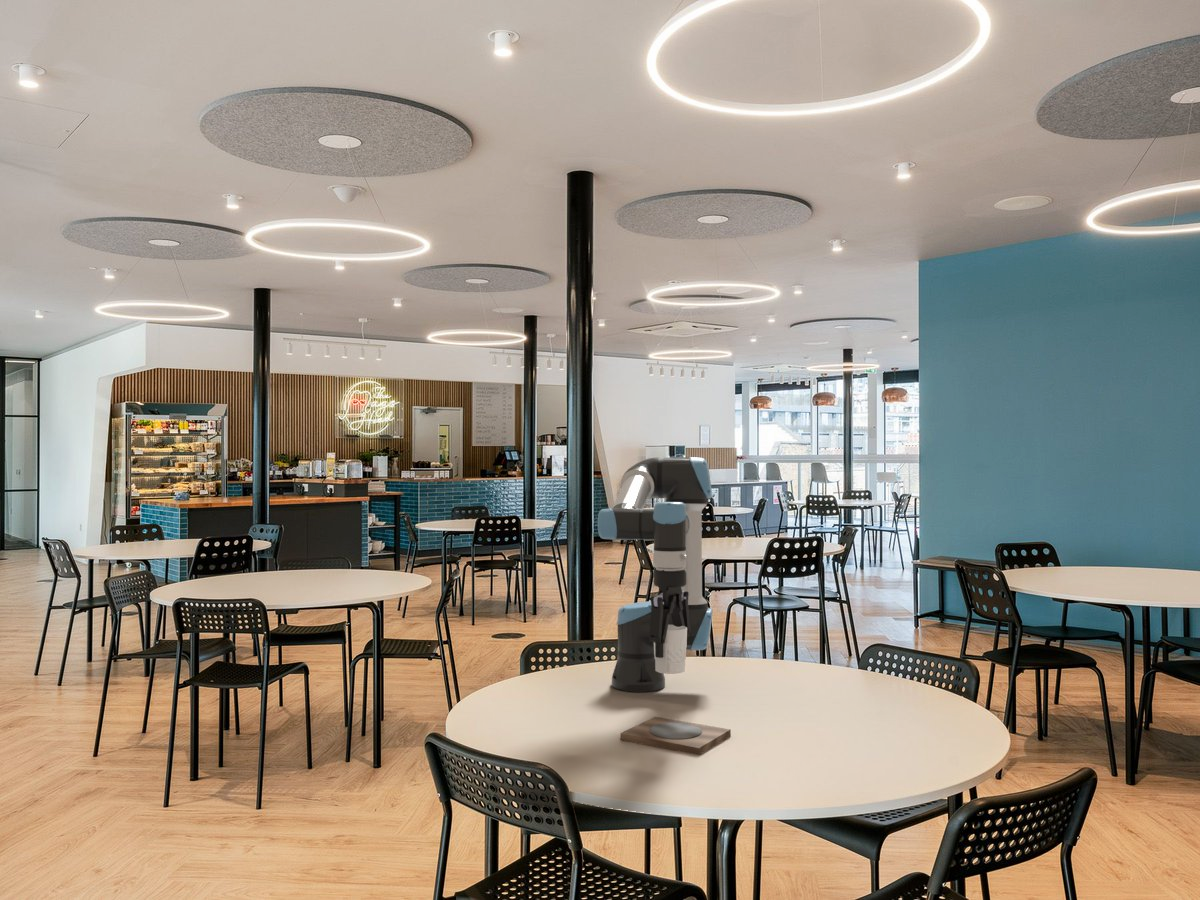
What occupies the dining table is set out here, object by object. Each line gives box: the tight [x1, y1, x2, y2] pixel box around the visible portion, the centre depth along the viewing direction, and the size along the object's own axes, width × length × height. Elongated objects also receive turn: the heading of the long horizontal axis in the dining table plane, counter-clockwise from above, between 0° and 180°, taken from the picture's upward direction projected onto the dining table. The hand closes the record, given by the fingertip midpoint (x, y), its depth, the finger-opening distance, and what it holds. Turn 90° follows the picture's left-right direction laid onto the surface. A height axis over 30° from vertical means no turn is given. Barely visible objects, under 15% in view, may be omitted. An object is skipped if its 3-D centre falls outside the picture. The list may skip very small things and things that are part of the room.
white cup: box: [654, 625, 687, 675], centre depth 206 cm, size 8×8×10 cm
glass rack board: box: [619, 716, 732, 756], centre depth 205 cm, size 16×20×2 cm
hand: (670, 668), depth 206 cm, fingers closed on white cup, 8 cm apart
